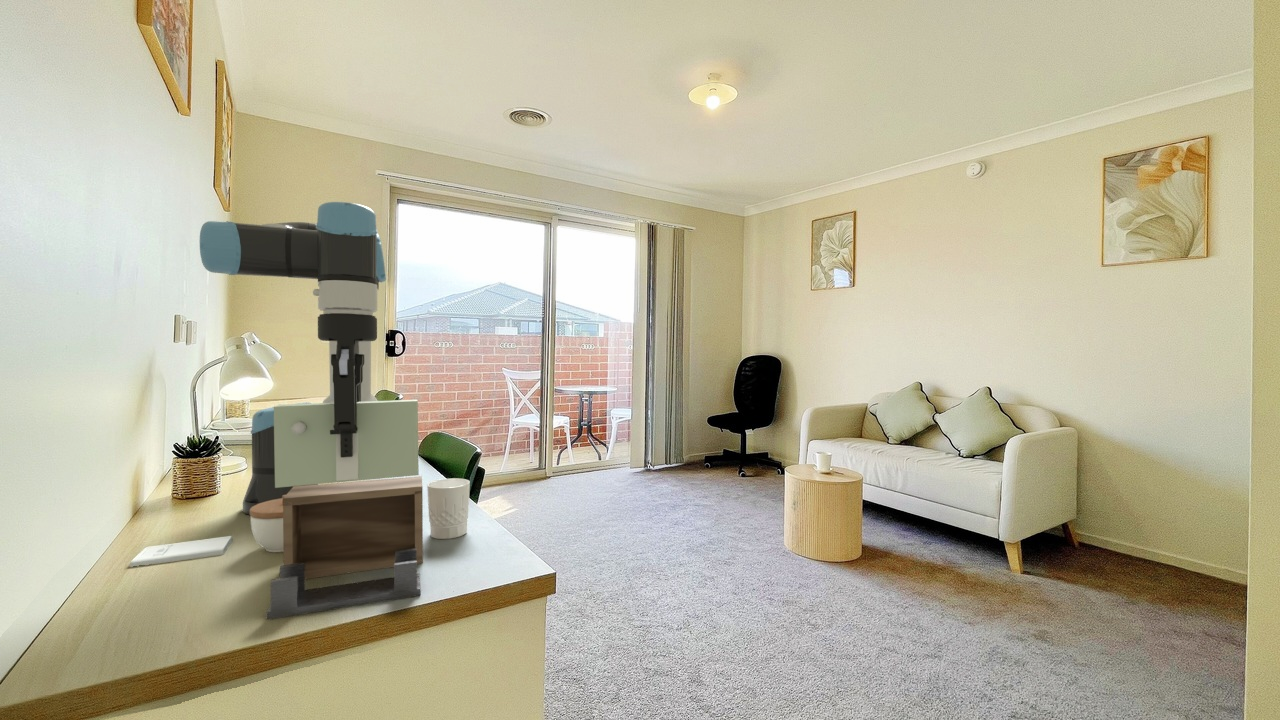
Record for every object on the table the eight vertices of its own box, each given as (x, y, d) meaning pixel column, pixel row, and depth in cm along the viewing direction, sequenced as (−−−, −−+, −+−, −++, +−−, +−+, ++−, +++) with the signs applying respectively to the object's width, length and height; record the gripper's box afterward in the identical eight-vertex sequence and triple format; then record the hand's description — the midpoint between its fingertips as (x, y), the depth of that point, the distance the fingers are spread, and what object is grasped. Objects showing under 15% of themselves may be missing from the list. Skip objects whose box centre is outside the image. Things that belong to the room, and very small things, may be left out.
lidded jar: (286, 559, 93) (285, 505, 93) (234, 554, 95) (233, 501, 95) (333, 538, 104) (333, 489, 103) (285, 534, 106) (285, 486, 106)
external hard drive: (223, 558, 95) (129, 570, 90) (232, 543, 103) (146, 554, 97) (223, 548, 95) (129, 561, 90) (232, 534, 103) (146, 545, 97)
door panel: (418, 471, 83) (417, 399, 83) (418, 476, 79) (417, 401, 79) (280, 482, 76) (278, 404, 76) (273, 489, 72) (271, 407, 72)
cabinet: (294, 563, 91) (293, 486, 91) (421, 547, 99) (421, 476, 99) (283, 582, 84) (283, 498, 84) (422, 562, 92) (422, 486, 92)
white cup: (420, 533, 106) (419, 483, 106) (457, 524, 112) (457, 476, 112) (439, 543, 101) (439, 490, 101) (477, 533, 107) (477, 482, 107)
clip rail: (277, 600, 78) (276, 565, 78) (420, 579, 85) (419, 547, 85) (266, 619, 72) (266, 582, 72) (420, 595, 80) (420, 561, 79)
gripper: (326, 316, 84) (327, 468, 84) (307, 308, 69) (308, 492, 69) (380, 317, 87) (380, 464, 87) (373, 310, 72) (374, 486, 72)
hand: (348, 476), depth 78 cm, fingers closed on door panel, 3 cm apart
